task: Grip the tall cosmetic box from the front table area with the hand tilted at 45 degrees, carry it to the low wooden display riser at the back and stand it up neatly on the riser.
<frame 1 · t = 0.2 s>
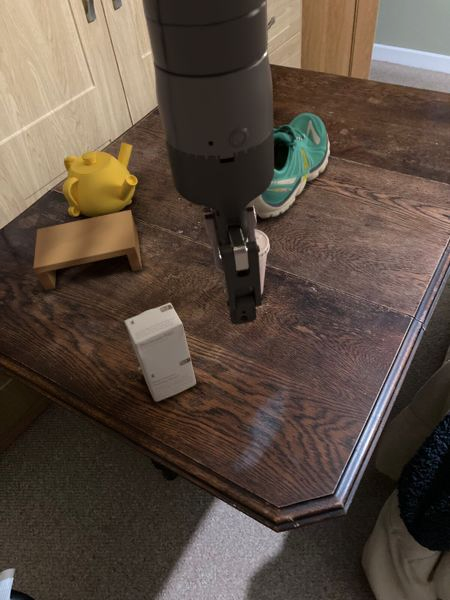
hand: (235, 285, 45), 22 cm above the table, tool pointing down, fingers open, 8 cm apart
smoothie: (250, 291, 75), on the table
potted plant: (235, 123, 111), on the table
wooden display riser: (93, 260, 84), on the table
running shoe: (290, 181, 94), on the table
teapot: (113, 205, 94), on the table
cosmetic box: (171, 381, 66), on the table
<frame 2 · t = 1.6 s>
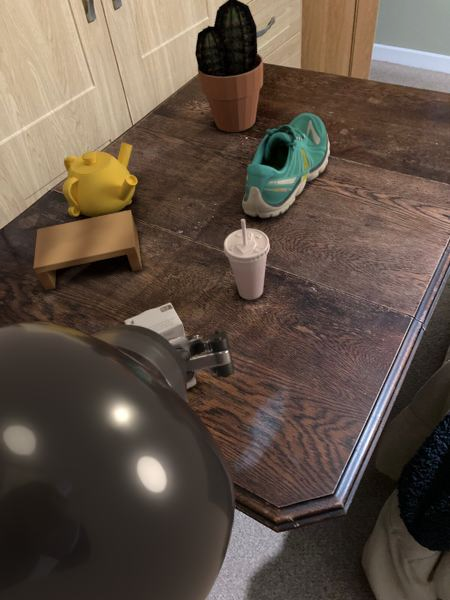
hand: (144, 358, 43), 21 cm above the table, tool tilted 45°, fingers open, 8 cm apart
nothing on the table moved.
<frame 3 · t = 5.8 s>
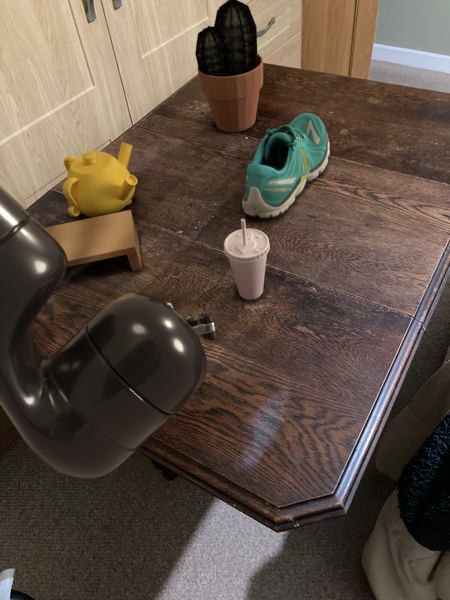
hand: (157, 332, 60), 8 cm above the table, tool tilted 45°, fingers closed on cosmetic box, 6 cm apart
cosmetic box: (171, 381, 66), on the table, touching gripper
everything else where it was.
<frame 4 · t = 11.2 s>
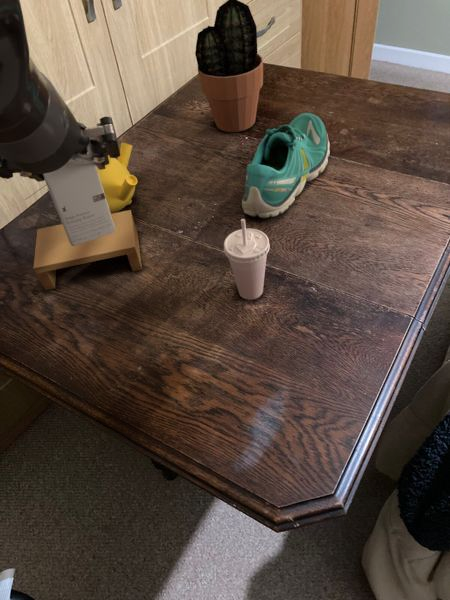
hand: (70, 167, 59), 24 cm above the table, tool tilted 45°, fingers closed on cosmetic box, 6 cm apart
cosmetic box: (91, 231, 64), point 15 cm above the table, touching gripper
everything else where it was.
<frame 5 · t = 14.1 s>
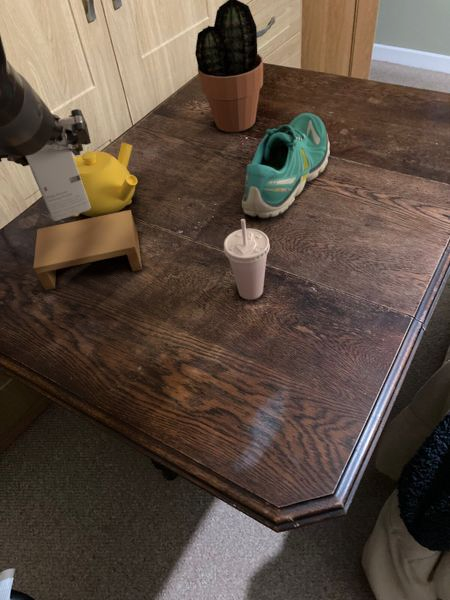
hand: (50, 153, 70), 20 cm above the table, tool tilted 45°, fingers closed on cosmetic box, 6 cm apart
cosmetic box: (71, 209, 75), point 11 cm above the table, touching gripper
everything else where it was.
when the fingers open (13 cm above the table, at t = 16.5 s): cosmetic box stays where it is, resting on wooden display riser.
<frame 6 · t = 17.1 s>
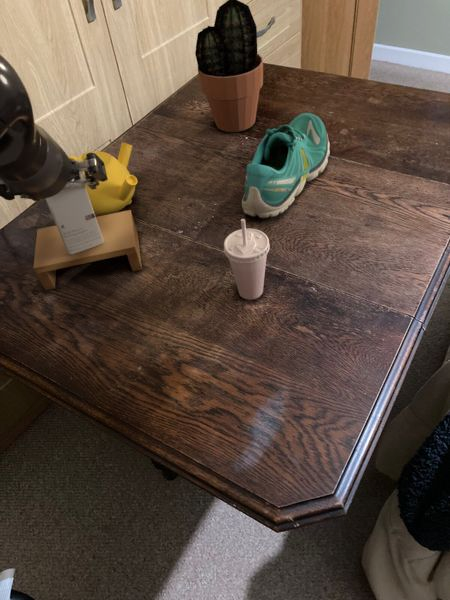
hand: (64, 188, 74), 14 cm above the table, tool tilted 45°, fingers open, 8 cm apart
cosmetic box: (85, 242, 80), point 5 cm above the table, touching wooden display riser
everything else where it was.
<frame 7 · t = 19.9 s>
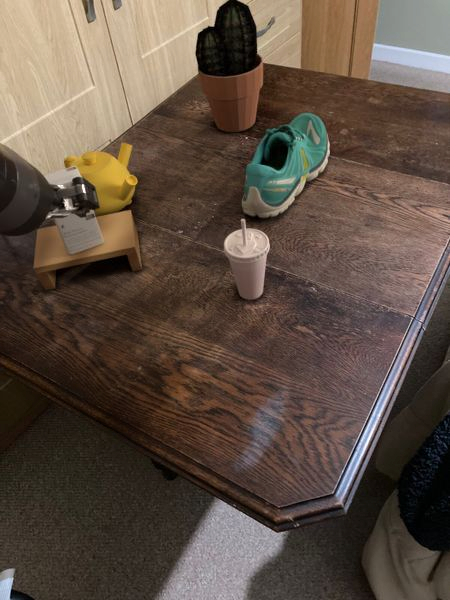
hand: (47, 216, 60), 19 cm above the table, tool tilted 45°, fingers open, 8 cm apart
nothing on the table moved.
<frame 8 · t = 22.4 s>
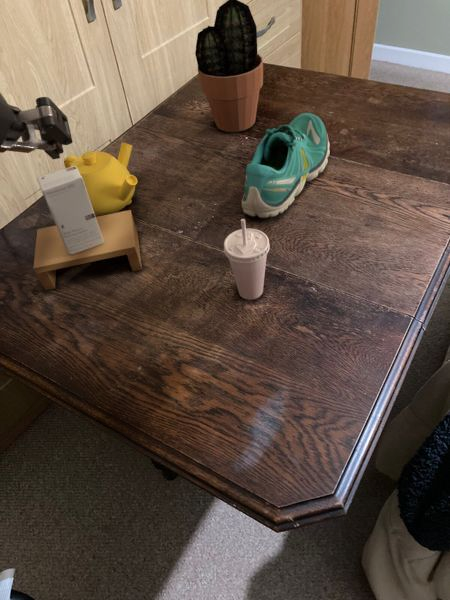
hand: (15, 157, 52), 29 cm above the table, tool tilted 45°, fingers open, 8 cm apart
nothing on the table moved.
at the end: cosmetic box inside the target area on the wooden display riser (1.1 cm from its centre), point 4.8 cm above the wooden display riser's base; cosmetic box tilted 0°; the gripper is holding nothing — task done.
